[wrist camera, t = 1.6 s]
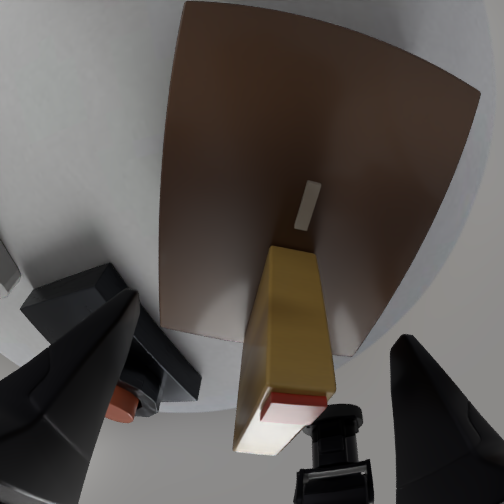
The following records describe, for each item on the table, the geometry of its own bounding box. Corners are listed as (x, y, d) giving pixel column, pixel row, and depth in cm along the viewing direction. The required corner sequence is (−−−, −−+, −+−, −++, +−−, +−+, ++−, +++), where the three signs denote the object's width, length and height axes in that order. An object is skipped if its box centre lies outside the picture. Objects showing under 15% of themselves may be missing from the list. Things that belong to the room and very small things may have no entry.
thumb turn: (278, 347, 11) (276, 462, 8) (243, 341, 11) (231, 458, 7) (316, 253, 9) (340, 401, 5) (269, 243, 9) (265, 396, 5)
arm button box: (202, 377, 22) (194, 421, 19) (120, 382, 25) (107, 417, 21) (110, 261, 16) (80, 310, 13) (33, 289, 18) (7, 326, 15)
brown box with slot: (325, 306, 17) (336, 383, 13) (185, 281, 16) (160, 357, 12) (412, 76, 10) (485, 93, 5) (218, 24, 9) (182, -2, 5)
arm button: (148, 404, 19) (143, 424, 17) (114, 403, 20) (108, 421, 18) (117, 377, 17) (110, 399, 16) (84, 377, 18) (76, 397, 16)
